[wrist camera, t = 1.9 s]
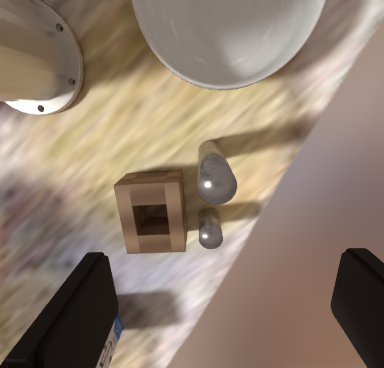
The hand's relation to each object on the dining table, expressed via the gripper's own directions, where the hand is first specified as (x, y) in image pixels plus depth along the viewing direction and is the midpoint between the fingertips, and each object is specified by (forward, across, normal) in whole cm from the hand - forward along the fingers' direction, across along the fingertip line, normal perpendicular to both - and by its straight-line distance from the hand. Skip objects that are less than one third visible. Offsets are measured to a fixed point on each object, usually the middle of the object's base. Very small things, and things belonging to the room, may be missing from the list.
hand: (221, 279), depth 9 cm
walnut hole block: (+22, +7, +7) cm, 25 cm away
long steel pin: (+22, 0, -1) cm, 23 cm away
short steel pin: (+22, 0, +9) cm, 24 cm away
